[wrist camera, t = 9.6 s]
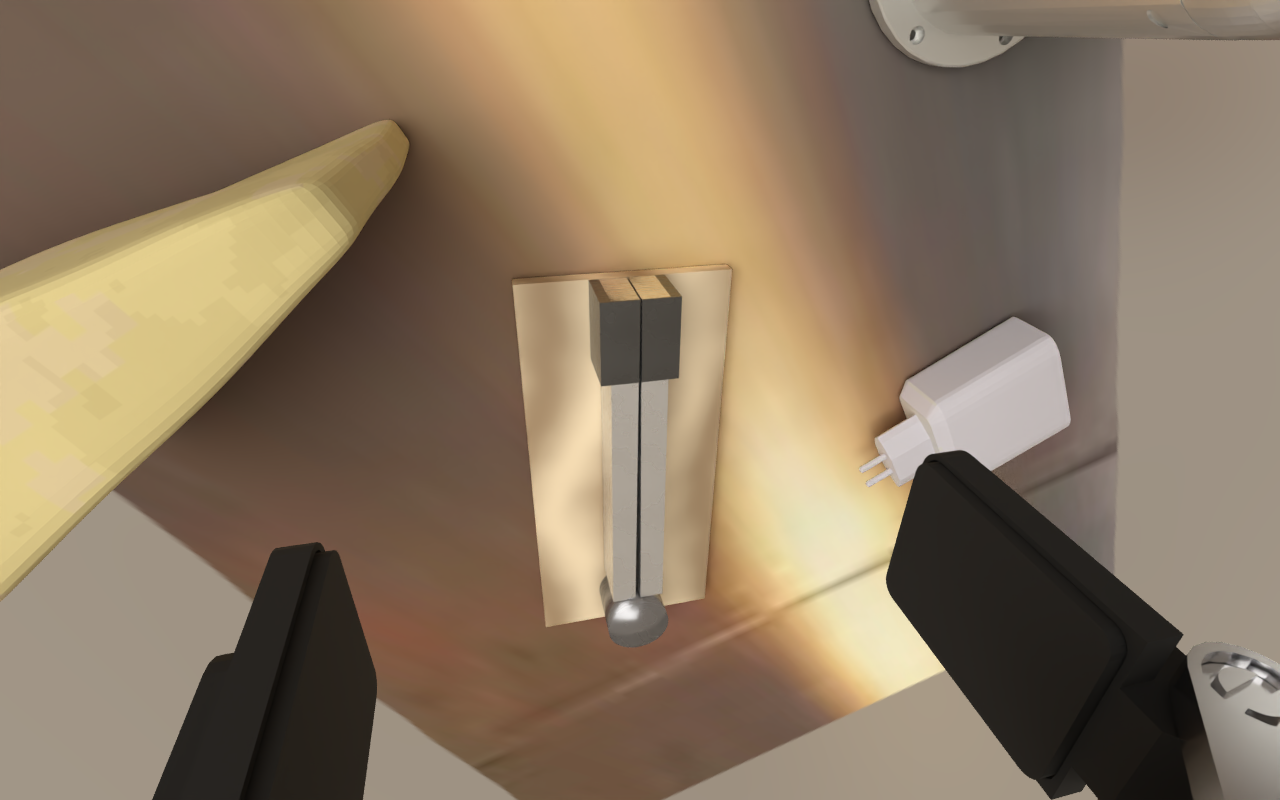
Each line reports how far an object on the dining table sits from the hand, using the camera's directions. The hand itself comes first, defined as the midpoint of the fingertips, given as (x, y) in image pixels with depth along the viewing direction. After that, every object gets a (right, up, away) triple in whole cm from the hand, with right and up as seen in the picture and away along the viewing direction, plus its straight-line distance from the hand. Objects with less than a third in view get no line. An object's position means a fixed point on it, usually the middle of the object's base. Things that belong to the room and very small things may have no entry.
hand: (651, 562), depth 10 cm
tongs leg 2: (0, 0, +32) cm, 32 cm away
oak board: (-1, -2, +34) cm, 35 cm away
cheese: (-21, +10, +22) cm, 32 cm away
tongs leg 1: (-2, 0, +32) cm, 32 cm away
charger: (+22, +2, +39) cm, 45 cm away
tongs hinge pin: (-1, -12, +39) cm, 41 cm away
